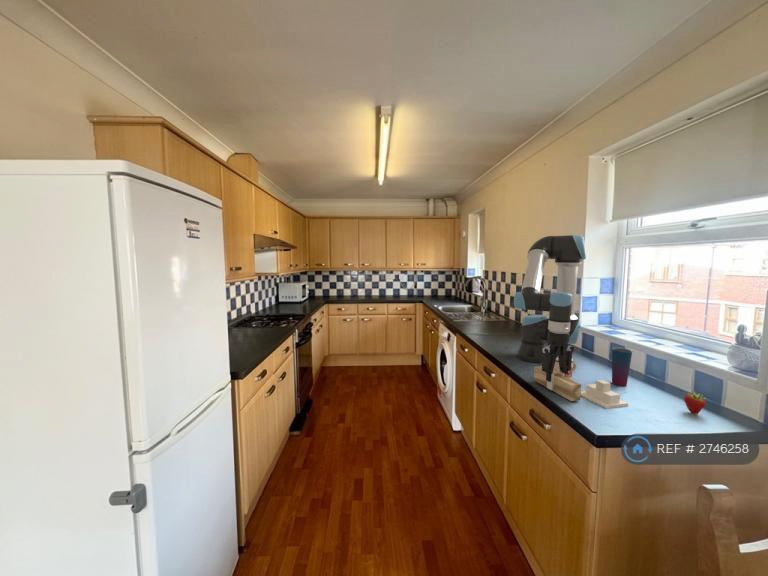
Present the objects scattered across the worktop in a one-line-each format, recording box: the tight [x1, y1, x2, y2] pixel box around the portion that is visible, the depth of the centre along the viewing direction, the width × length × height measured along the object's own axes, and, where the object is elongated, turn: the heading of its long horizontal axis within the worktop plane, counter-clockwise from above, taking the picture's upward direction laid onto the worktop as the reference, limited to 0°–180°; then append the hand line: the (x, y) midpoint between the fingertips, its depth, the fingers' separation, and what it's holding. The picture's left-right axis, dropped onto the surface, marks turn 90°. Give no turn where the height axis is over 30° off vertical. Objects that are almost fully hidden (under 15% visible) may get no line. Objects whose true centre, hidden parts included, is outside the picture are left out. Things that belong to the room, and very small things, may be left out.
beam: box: [533, 365, 582, 402], centre depth 124 cm, size 4×20×6 cm, turn 13°
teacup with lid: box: [553, 357, 577, 380], centre depth 139 cm, size 12×9×12 cm
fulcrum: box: [580, 379, 629, 409], centre depth 117 cm, size 12×10×7 cm
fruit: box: [683, 390, 707, 415], centre depth 107 cm, size 5×5×8 cm
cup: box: [611, 347, 633, 388], centre depth 132 cm, size 7×7×15 cm
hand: (555, 388), depth 124 cm, fingers closed on beam, 4 cm apart
